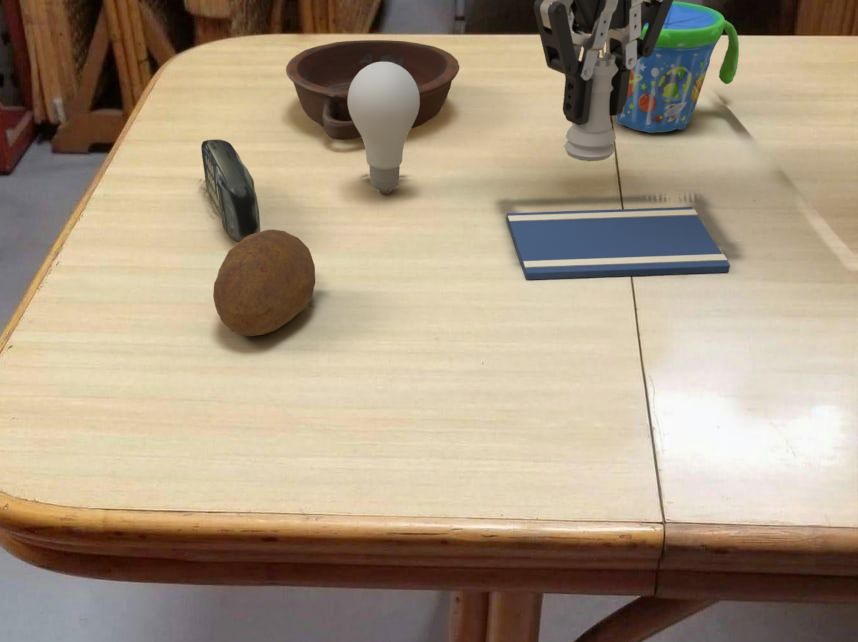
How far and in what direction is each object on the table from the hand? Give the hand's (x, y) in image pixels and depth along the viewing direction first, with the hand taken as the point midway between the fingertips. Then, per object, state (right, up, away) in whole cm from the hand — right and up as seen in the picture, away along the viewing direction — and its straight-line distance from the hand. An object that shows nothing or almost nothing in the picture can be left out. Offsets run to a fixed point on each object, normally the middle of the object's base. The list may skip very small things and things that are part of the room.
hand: (593, 116), depth 91 cm
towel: (+1, -12, -4) cm, 13 cm away
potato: (-26, -20, -12) cm, 35 cm away
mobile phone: (-31, -9, 0) cm, 32 cm away
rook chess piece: (0, -2, +2) cm, 3 cm away
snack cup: (+9, +6, +17) cm, 20 cm away
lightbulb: (-18, -5, +5) cm, 19 cm away
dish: (-19, +8, +19) cm, 29 cm away
